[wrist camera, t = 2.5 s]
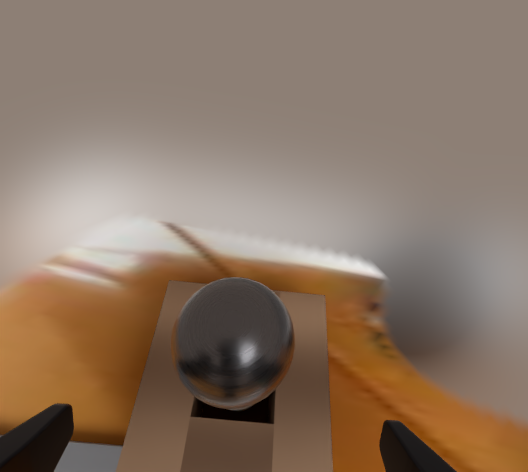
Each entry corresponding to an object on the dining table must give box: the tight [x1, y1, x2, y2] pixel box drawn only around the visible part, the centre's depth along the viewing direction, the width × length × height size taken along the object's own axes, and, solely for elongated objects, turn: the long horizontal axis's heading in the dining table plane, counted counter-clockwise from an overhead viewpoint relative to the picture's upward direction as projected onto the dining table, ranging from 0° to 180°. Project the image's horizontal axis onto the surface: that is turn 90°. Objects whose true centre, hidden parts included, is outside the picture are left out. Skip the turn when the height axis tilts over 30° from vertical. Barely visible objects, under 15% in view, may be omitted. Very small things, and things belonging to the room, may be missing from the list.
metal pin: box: [171, 277, 295, 412], centre depth 12 cm, size 3×3×13 cm
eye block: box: [116, 280, 333, 472], centre depth 15 cm, size 9×9×4 cm
